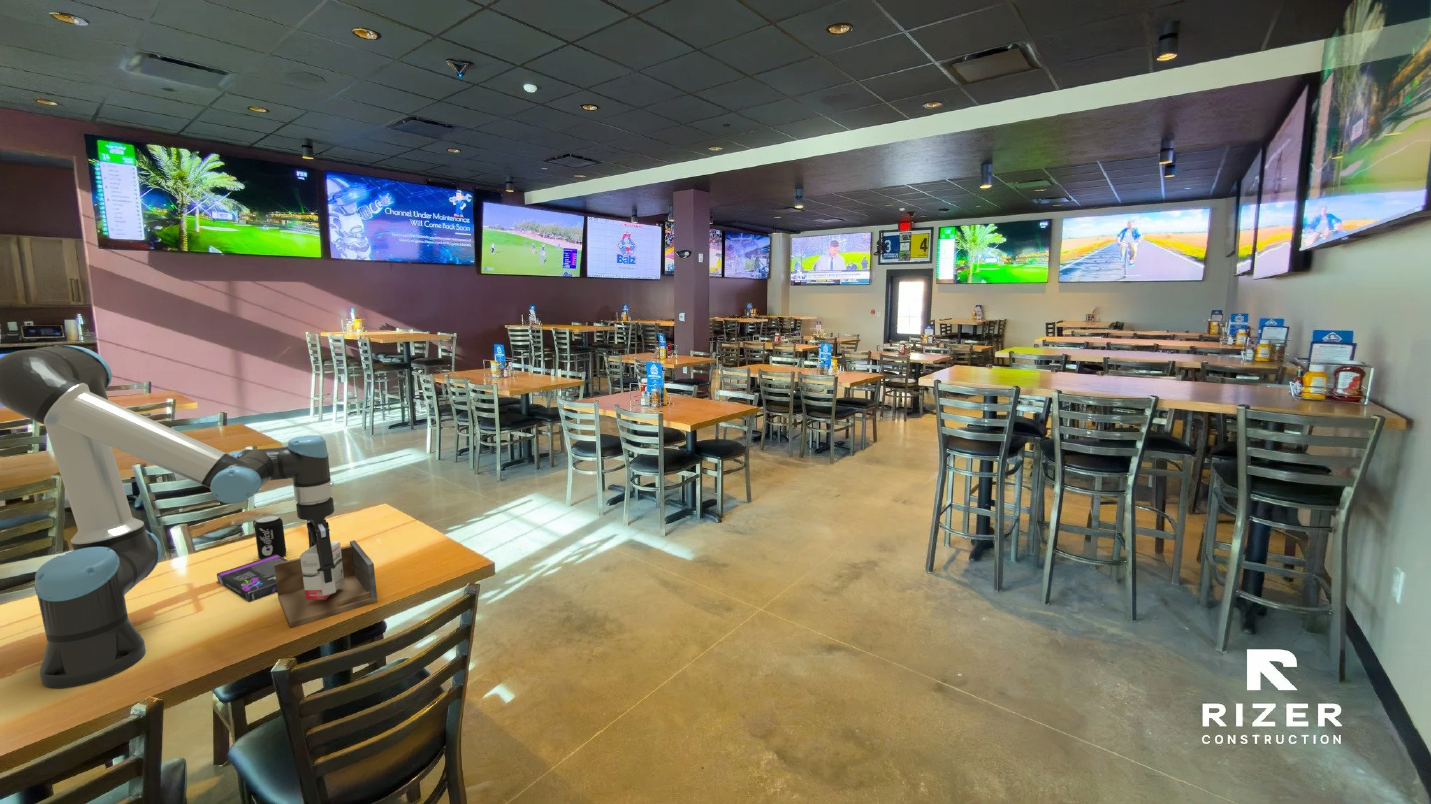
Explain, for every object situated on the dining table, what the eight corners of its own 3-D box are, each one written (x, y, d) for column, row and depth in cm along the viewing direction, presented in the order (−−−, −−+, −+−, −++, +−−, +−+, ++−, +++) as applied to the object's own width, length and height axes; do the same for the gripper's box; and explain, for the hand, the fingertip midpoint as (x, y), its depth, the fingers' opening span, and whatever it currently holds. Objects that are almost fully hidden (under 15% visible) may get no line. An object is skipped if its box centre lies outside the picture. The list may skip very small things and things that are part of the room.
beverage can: (290, 556, 177) (286, 516, 175) (264, 564, 172) (259, 524, 170) (280, 550, 181) (275, 512, 179) (254, 558, 175) (249, 519, 173)
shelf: (290, 627, 140) (285, 586, 138) (277, 597, 153) (273, 559, 152) (377, 601, 152) (373, 563, 150) (358, 575, 165) (354, 540, 164)
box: (218, 585, 162) (248, 604, 151) (216, 573, 161) (246, 591, 150) (278, 565, 173) (310, 582, 162) (276, 553, 172) (308, 569, 162)
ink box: (325, 600, 147) (320, 554, 145) (304, 600, 147) (298, 554, 145) (345, 583, 155) (340, 540, 153) (325, 584, 155) (320, 540, 153)
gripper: (342, 507, 141) (352, 597, 145) (323, 485, 157) (333, 567, 161) (304, 515, 136) (315, 608, 140) (288, 492, 152) (299, 575, 156)
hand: (325, 586), depth 151 cm, fingers closed on ink box, 9 cm apart
